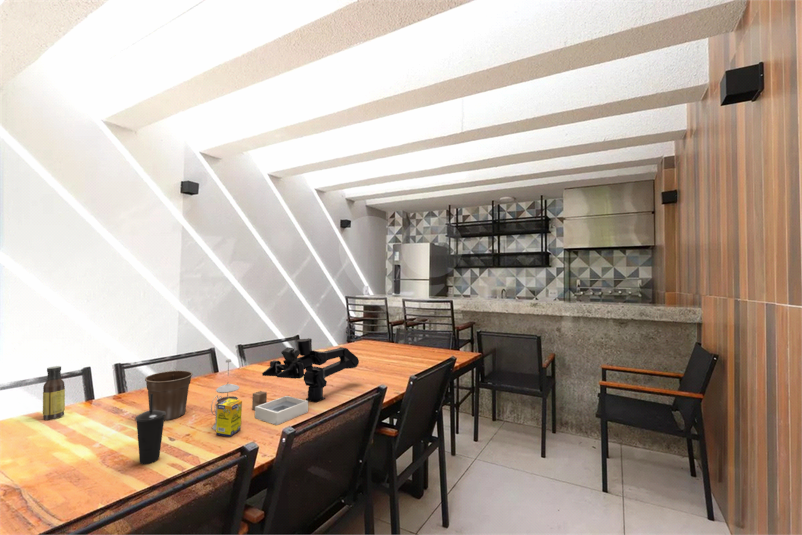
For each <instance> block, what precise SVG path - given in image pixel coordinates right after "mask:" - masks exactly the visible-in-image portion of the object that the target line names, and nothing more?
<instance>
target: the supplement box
mask: <svg viewBox="0 0 802 535" xmlns="http://www.w3.org/2000/svg"><path fill="white" fill-rule="evenodd" d="M242 407H243V400H241V399H237V400H235V399H227V400H225V401H223V402H221V403H219V404H218V405H217V426H216V430H215V434H216V435H217V436H223V437H229V438H231V437H232V436H234V435H235V434H236V433H237V432H239V431H241V429H242V409H243V408H242Z"/></svg>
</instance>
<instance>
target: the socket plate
mask: <svg viewBox="0 0 802 535" xmlns="http://www.w3.org/2000/svg"><path fill="white" fill-rule="evenodd" d="M294 405H297V404H296V403H293V402H289V401H285V402H282V403H279V404H277V405H274V406H271V407H268V408H266V409H268V410H272V411H275V412H279V411H280V410H284V409H287V408H289V407H292V406H294Z"/></svg>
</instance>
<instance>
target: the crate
mask: <svg viewBox="0 0 802 535" xmlns="http://www.w3.org/2000/svg"><path fill="white" fill-rule="evenodd" d="M285 401H289V402H293V403H296V404H297V405H294V406H292V407H289V408H287V409H284V410H280V411H279V412H275V411H272V410H268V409H266V408H268V407H271V406H274V405H277V404H279V403H282V402H285ZM308 412H309V401H308V400H306V399H301V398H298V397H293V396H289V395H285V396H281V397H279V398H275V399H273V400H270V401H267V403H264V404H261V405H258V406H256V407H255V411H254V419H256V420H260V421H263V422H266V423H269V424H272V425H275V426H278V425H281V424H282V423H283V424H284V423H285V422H288V421H290V420H292V419H295V418H297V417H300V416H302V415H304V414H307V413H308Z"/></svg>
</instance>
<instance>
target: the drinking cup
mask: <svg viewBox="0 0 802 535" xmlns="http://www.w3.org/2000/svg"><path fill="white" fill-rule="evenodd" d="M152 409H153V394H150V410H146V411H144V412H142V413H140V414H137V415H135V417H134V418H135V421H136V432H137V444H138V446H137V447H138V454H139V455H138V456H139V464H140V465H149V464H150V465H151V464H152V462H153V463H156V462H157V461H158V460H159V459H160V456H161V455H160V453H161V448H162V447H161V446H162V439H163V431H164V424H165V421H164V417H165V415H166V412H165V411H161V410H152Z"/></svg>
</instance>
